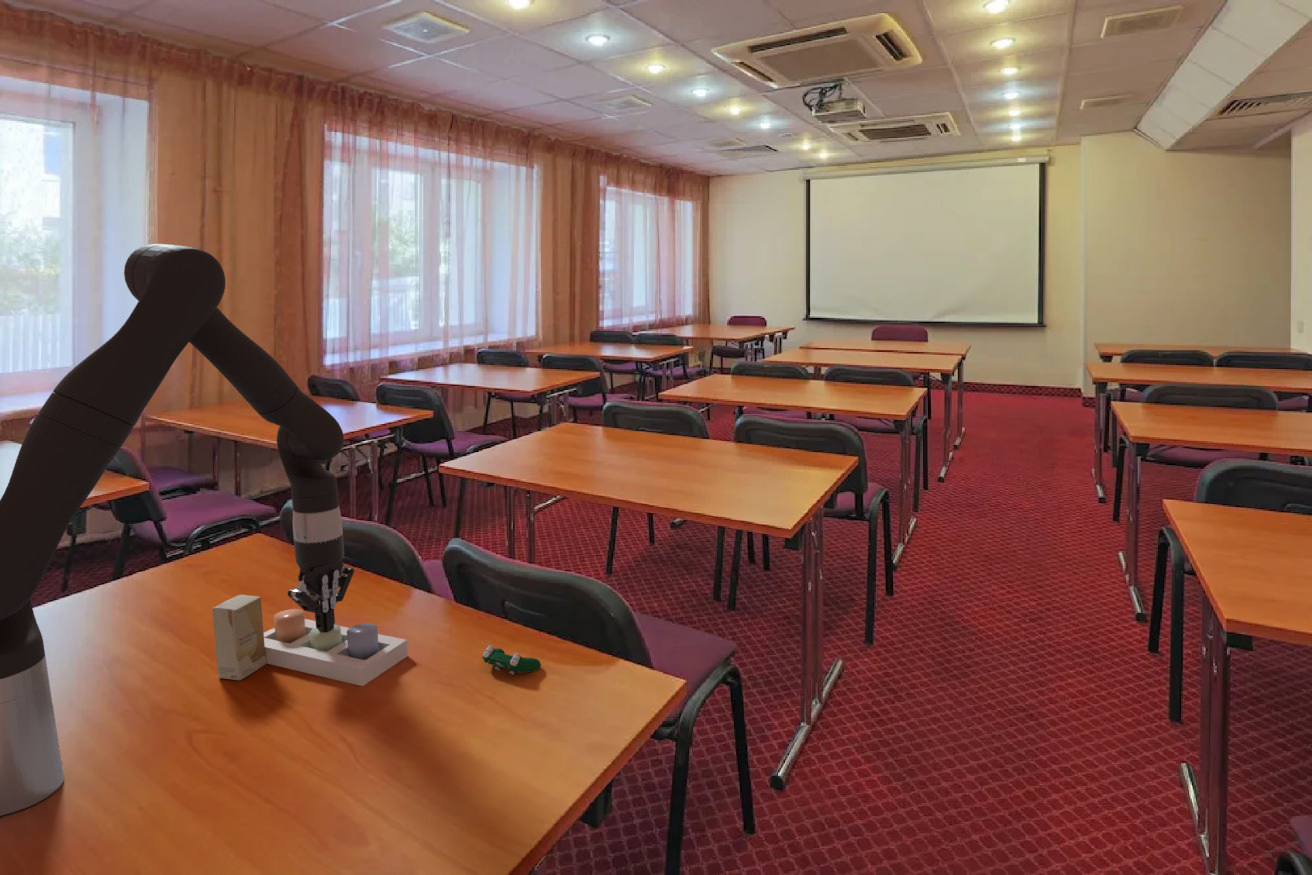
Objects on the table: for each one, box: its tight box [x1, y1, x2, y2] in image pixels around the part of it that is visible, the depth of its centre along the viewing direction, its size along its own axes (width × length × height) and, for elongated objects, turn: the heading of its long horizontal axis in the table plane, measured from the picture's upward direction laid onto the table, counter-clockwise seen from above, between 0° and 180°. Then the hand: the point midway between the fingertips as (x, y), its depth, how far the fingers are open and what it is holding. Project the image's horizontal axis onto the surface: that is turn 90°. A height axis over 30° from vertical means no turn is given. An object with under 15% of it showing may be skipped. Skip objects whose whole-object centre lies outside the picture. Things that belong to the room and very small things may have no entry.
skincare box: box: [212, 594, 267, 681], centre depth 123 cm, size 6×4×12 cm
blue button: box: [347, 623, 379, 660], centre depth 126 cm, size 5×5×4 cm
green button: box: [310, 624, 342, 652], centre depth 129 cm, size 5×5×4 cm
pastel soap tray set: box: [263, 618, 409, 687], centre depth 129 cm, size 11×25×3 cm, turn 69°
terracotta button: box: [273, 608, 306, 643], centre depth 131 cm, size 5×5×4 cm
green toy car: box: [482, 644, 542, 676], centre depth 126 cm, size 9×4×6 cm
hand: (326, 629), depth 128 cm, fingers closed
